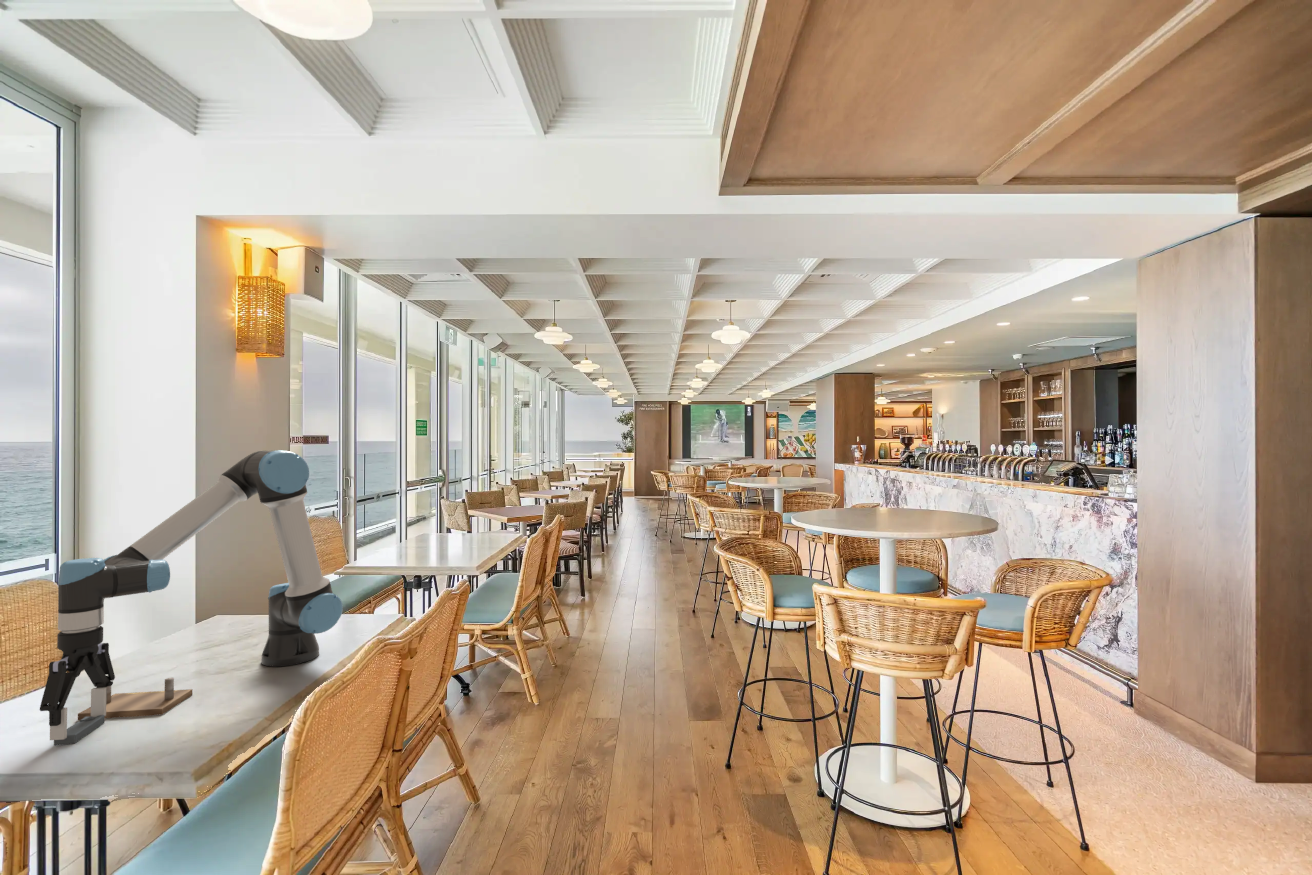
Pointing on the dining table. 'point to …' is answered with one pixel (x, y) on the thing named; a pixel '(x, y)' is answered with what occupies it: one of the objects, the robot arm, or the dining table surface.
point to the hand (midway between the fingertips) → (79, 727)
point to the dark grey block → (81, 729)
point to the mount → (142, 702)
